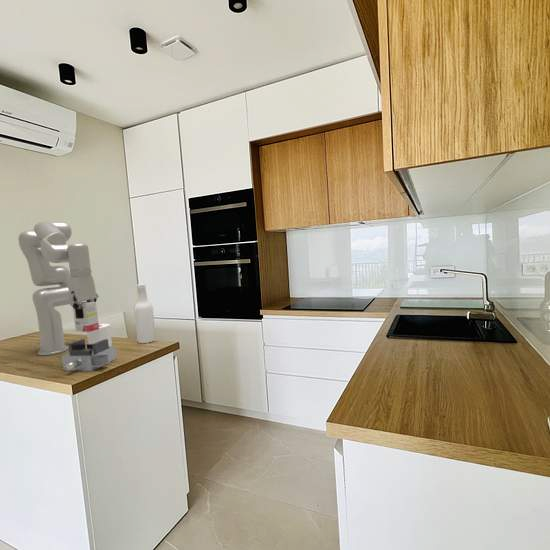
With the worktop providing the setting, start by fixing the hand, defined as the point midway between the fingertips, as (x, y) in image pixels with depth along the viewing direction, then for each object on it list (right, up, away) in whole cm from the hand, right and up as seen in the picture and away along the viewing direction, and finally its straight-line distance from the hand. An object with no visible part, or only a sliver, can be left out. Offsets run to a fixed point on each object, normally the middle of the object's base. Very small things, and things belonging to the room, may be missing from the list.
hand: (85, 316), depth 137 cm
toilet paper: (-5, -20, +22) cm, 30 cm away
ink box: (0, -6, 0) cm, 6 cm away
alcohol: (+13, -17, +33) cm, 39 cm away
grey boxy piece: (+2, -21, -1) cm, 21 cm away
